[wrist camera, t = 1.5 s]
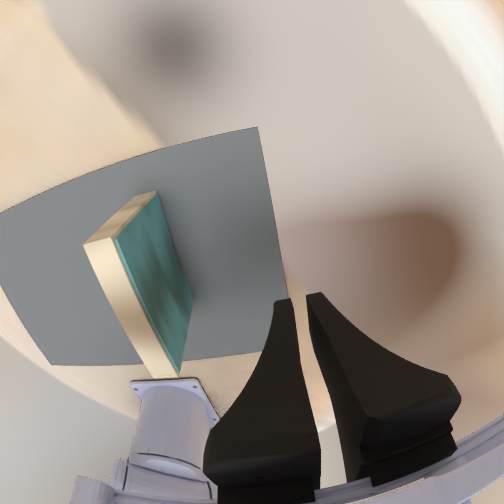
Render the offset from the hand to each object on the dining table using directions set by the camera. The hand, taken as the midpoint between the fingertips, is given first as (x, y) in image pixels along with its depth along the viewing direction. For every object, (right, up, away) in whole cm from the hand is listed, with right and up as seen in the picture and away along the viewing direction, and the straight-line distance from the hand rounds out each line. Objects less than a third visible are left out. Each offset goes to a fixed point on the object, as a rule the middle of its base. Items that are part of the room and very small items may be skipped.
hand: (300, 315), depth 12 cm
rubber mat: (-14, 0, +10) cm, 17 cm away
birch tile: (-8, +3, +8) cm, 12 cm away
